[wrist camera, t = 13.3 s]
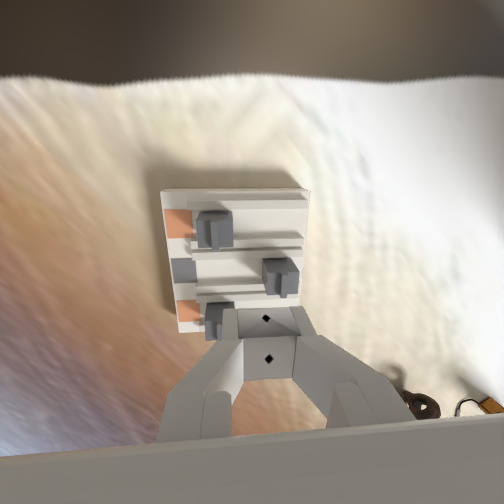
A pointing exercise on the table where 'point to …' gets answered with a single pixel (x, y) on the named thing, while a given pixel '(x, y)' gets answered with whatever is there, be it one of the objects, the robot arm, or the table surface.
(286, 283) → the tab middle
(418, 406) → the brown curved ring piece
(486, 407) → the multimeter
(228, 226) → the tab
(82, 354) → the table surface
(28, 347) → the table surface
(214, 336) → the tab
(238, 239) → the switch board
